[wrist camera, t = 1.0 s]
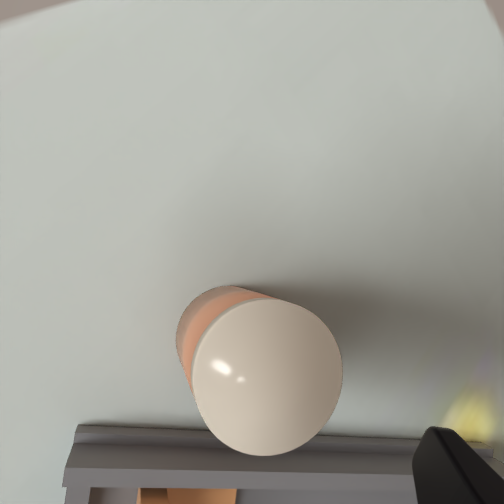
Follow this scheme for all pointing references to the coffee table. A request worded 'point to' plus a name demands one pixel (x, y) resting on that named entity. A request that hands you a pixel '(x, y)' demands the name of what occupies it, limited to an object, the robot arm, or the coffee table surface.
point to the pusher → (185, 496)
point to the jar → (259, 369)
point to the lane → (242, 467)
